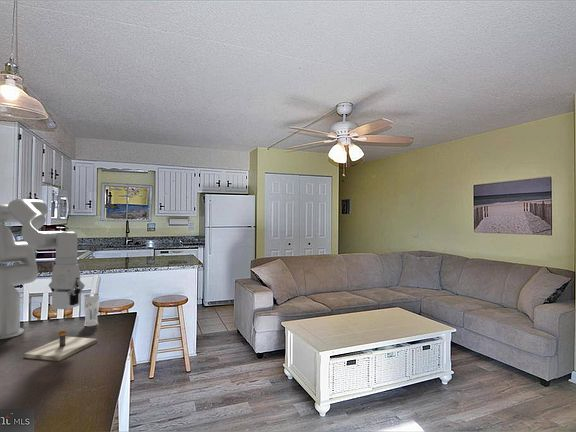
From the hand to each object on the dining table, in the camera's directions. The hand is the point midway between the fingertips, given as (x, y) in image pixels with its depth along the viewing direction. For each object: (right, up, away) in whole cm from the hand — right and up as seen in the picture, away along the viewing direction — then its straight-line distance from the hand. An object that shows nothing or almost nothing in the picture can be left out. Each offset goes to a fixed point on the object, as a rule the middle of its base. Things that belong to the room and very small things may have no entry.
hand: (66, 303), depth 139 cm
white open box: (0, -1, 0) cm, 1 cm away
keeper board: (0, -18, -3) cm, 18 cm away
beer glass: (-6, -18, +28) cm, 34 cm away
